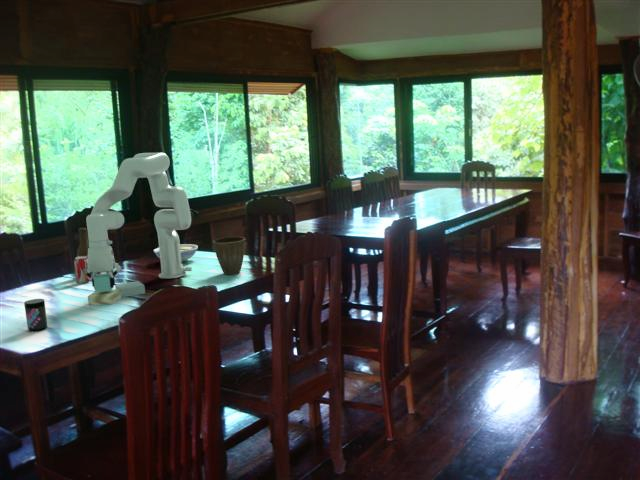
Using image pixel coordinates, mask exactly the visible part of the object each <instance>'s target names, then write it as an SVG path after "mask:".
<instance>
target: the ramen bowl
mask: <svg viewBox="0 0 640 480" xmlns="http://www.w3.org/2000/svg"><path fill="white" fill-rule="evenodd" d="M198 246H199V245H197V244H193V243H192V244H191V243H189V244H187V243H183V244H181V243H180V252H181V263H182V264H183V263H184V262H186V261H187V260H189V259H191V258H192V257H193V256H194V255H195V254H196V252H197V250H198ZM153 252H154V254H155V255H156V256H157V258H159V259H160V250H159V247H157V248H155V249H153Z"/></svg>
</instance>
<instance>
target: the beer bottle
mask: <svg viewBox="0 0 640 480" xmlns="http://www.w3.org/2000/svg"><path fill="white" fill-rule="evenodd" d="M77 231H78V234H79V235H78V237H79V246H78V248H77V250H76V257H81V256H86V258H87V259H88V249H89V248H90V247H89V238H88V232H87V231H88V230H87V228H86V227H80V228H78V230H77ZM90 273H91V272H90ZM91 274H92V273H91Z"/></svg>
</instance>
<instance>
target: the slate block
mask: <svg viewBox="0 0 640 480" xmlns="http://www.w3.org/2000/svg"><path fill="white" fill-rule="evenodd" d="M114 287H115V289H120V290H121V298H127V297H132V296H133V297H134V296H139V295H143V294H146V288H145V284H143V283H142V282H141V281H139V280H136V281H130V282H124V283H117V284H116V283H115V285H114Z"/></svg>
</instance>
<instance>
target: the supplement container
mask: <svg viewBox="0 0 640 480" xmlns="http://www.w3.org/2000/svg"><path fill="white" fill-rule="evenodd" d="M23 305H24V310H25V319H26V326H27V331H29V332H31V333H33V332H35V333H36V331H37V332H42V331H45V330H47V329H48V319H47V313H46V303H45V299H44V298H35V299H29V300H25V301H24V302H23ZM32 331H33V332H32Z"/></svg>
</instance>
